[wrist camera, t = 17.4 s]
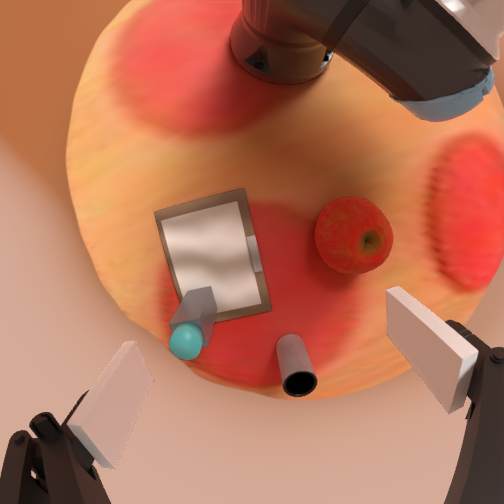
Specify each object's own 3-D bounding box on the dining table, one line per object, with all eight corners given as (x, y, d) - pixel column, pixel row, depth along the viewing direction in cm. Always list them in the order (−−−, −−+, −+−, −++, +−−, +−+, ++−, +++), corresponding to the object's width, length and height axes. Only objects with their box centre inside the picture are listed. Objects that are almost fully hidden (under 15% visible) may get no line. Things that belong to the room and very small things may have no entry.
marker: (187, 290, 41) (163, 334, 28) (211, 285, 41) (195, 328, 28) (194, 313, 42) (174, 362, 28) (217, 308, 42) (206, 358, 28)
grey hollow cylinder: (285, 329, 43) (295, 366, 33) (309, 339, 44) (324, 377, 34) (270, 351, 44) (276, 391, 34) (294, 361, 44) (305, 401, 34)
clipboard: (154, 211, 39) (152, 212, 38) (244, 188, 39) (244, 188, 37) (188, 326, 43) (187, 329, 41) (271, 309, 42) (272, 312, 41)
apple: (384, 214, 40) (422, 223, 29) (356, 276, 42) (386, 301, 31) (326, 184, 39) (353, 182, 28) (297, 250, 41) (313, 270, 30)
